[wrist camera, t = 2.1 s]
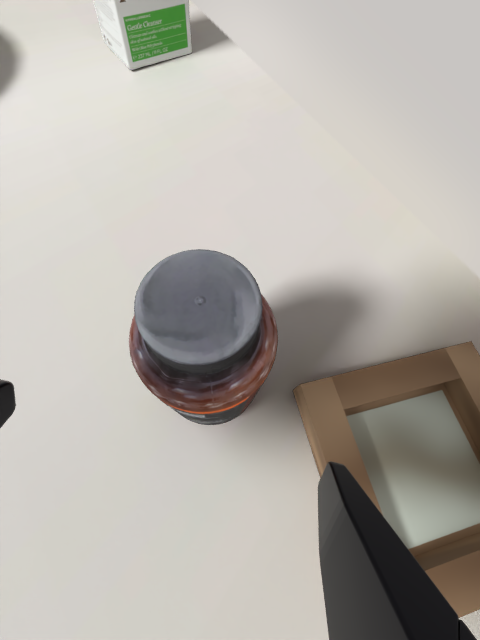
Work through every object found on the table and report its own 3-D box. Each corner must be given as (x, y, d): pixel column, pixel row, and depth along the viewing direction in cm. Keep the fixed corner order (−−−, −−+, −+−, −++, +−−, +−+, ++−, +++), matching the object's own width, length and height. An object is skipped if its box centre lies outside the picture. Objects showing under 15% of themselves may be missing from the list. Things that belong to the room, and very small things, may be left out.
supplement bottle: (239, 325, 21) (258, 207, 11) (270, 407, 19) (331, 359, 8) (156, 350, 20) (86, 245, 9) (178, 440, 18) (120, 432, 7)
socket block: (556, 547, 17) (597, 559, 15) (366, 623, 15) (387, 647, 13) (449, 350, 21) (471, 341, 19) (292, 390, 19) (300, 384, 18)
